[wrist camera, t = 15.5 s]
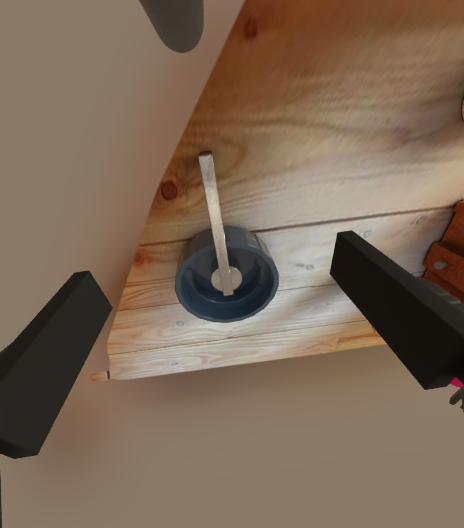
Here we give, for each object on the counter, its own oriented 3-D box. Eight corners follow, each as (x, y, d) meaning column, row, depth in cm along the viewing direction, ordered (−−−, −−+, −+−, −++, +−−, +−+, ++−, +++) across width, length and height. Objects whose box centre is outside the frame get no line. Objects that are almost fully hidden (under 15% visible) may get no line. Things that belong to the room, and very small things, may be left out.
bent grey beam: (241, 278, 37) (247, 305, 31) (213, 283, 37) (214, 310, 31) (225, 148, 26) (230, 151, 20) (186, 154, 26) (179, 158, 20)
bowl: (168, 232, 32) (161, 252, 27) (268, 217, 32) (279, 234, 27) (191, 304, 41) (189, 328, 36) (269, 291, 41) (278, 314, 36)
